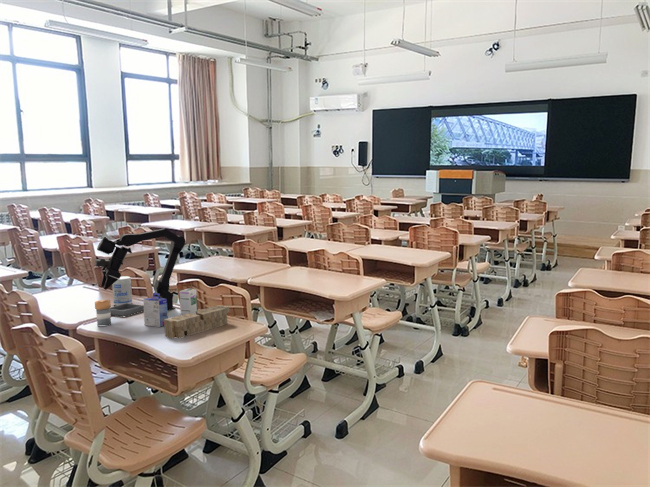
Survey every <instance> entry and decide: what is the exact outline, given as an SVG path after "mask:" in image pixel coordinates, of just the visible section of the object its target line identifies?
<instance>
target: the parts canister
mask: <svg viewBox="0 0 650 487" xmlns="http://www.w3.org/2000/svg"><path fill="white" fill-rule="evenodd" d="M110 308H111V307H110ZM110 308H108V309H101V310H98V309H95V313H96V322H97V323H96V324H97V326H98V325H108V326H110V325H112V317H111V316H112V315H111V314H110ZM109 324H110V325H109Z"/></svg>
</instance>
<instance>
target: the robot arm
mask: <svg viewBox="0 0 650 487" xmlns="http://www.w3.org/2000/svg"><path fill="white" fill-rule="evenodd" d="M163 237H164V238H165V239H167V240H168V241H170V246H169V248H170V250H169V254H168V257H167V260H166V262H165V265H164V268H163V271H162V274H161V277H160V278H159V279H155V284H154V285H153V290H154V293H159V294H160V296H159V298H164V299H167V311H172V310H176V307H174V302H173V298H174V294H173V293H172V292H170V291H169V289H170V280H171V276H172V274H173V270H174V268H175V266H176V263H177V260H178V257H179V254H180V252H182V250H183V249H184V247H185V245H186V242H187V241H186V238H185V237H183V236H181V235H177V234H175V233H174V232H172V231H170V229H168V228H166V227H165V228H163V227H162V228H161V229H160V228H159V229H155V230H149V231H146V232H141V233H124V234H123V233H122V234H121V235H120V237H119V238H118V239H116V240H113V241H112V240H110V239H108V238H107V237H102V239H101V240H100V242H99V243H98V245H97V248H96V250H97V251H98V252H100V253H104V254H107V255H111V254H112V256H111V257H109V258H108V259H105V258H100V259H97V258H96V259H95V268H100V267H101V273H102V280H101V284H100V286H101V287H102V288H103V290H105V291H107V290H108V289H109V288H110V287H112V284H113V283H114V282H116V281H117V280H118V279H120V277H122V273H121V272H120V269H121V267H122V265H124V261H125V259H126V257H127V254H128V253H129V254H133V252H132V247H131V246H134V245H136V244H138V243H140V242H144V241H149V240H153V239H154V240H155V239H158V238H163ZM127 247H128V248H127Z"/></svg>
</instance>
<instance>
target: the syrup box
mask: <svg viewBox="0 0 650 487" xmlns="http://www.w3.org/2000/svg"><path fill="white" fill-rule="evenodd" d="M179 300H180V301H179V303H180V315H184V314H188V313H193V314H196V311H199V309H198V308H199V307H198V295H197V289H196V288H185V289H182V290H179Z"/></svg>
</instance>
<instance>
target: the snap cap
mask: <svg viewBox="0 0 650 487" xmlns="http://www.w3.org/2000/svg"><path fill="white" fill-rule="evenodd" d="M111 304H112V303H111V300H110V299H99V300H95V301H94V308H95V310H96V309H98V310H101V309H108V308H111V307H112V305H111Z"/></svg>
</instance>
